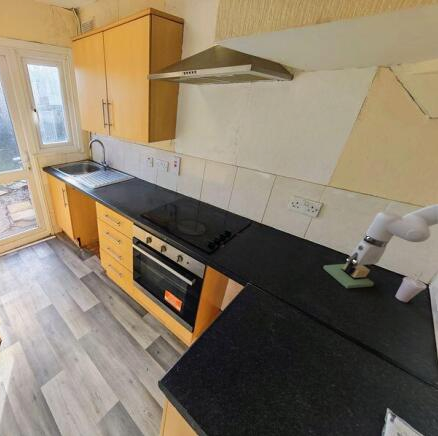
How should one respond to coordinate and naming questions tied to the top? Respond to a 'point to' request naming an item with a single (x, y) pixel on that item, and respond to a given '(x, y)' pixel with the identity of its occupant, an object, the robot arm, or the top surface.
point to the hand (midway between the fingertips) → (354, 271)
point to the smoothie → (409, 288)
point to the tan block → (359, 270)
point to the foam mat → (346, 277)
